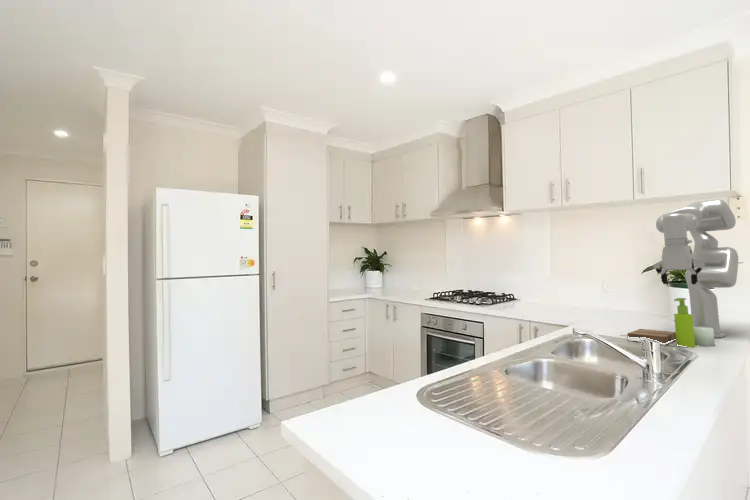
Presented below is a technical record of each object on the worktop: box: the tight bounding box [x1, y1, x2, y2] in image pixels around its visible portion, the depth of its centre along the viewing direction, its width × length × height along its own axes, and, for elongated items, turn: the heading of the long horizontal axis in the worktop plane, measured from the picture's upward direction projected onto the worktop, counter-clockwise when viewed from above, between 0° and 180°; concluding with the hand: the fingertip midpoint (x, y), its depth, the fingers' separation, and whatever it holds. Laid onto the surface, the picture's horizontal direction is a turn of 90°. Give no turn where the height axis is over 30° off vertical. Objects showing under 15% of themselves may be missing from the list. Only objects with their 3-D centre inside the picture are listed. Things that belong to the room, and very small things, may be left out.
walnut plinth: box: [627, 328, 676, 343], centre depth 169 cm, size 14×14×4 cm
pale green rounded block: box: [693, 326, 716, 347], centre depth 158 cm, size 7×7×7 cm
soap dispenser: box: [673, 297, 696, 348], centre depth 157 cm, size 6×7×20 cm
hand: (679, 284), depth 157 cm, fingers open, 9 cm apart
